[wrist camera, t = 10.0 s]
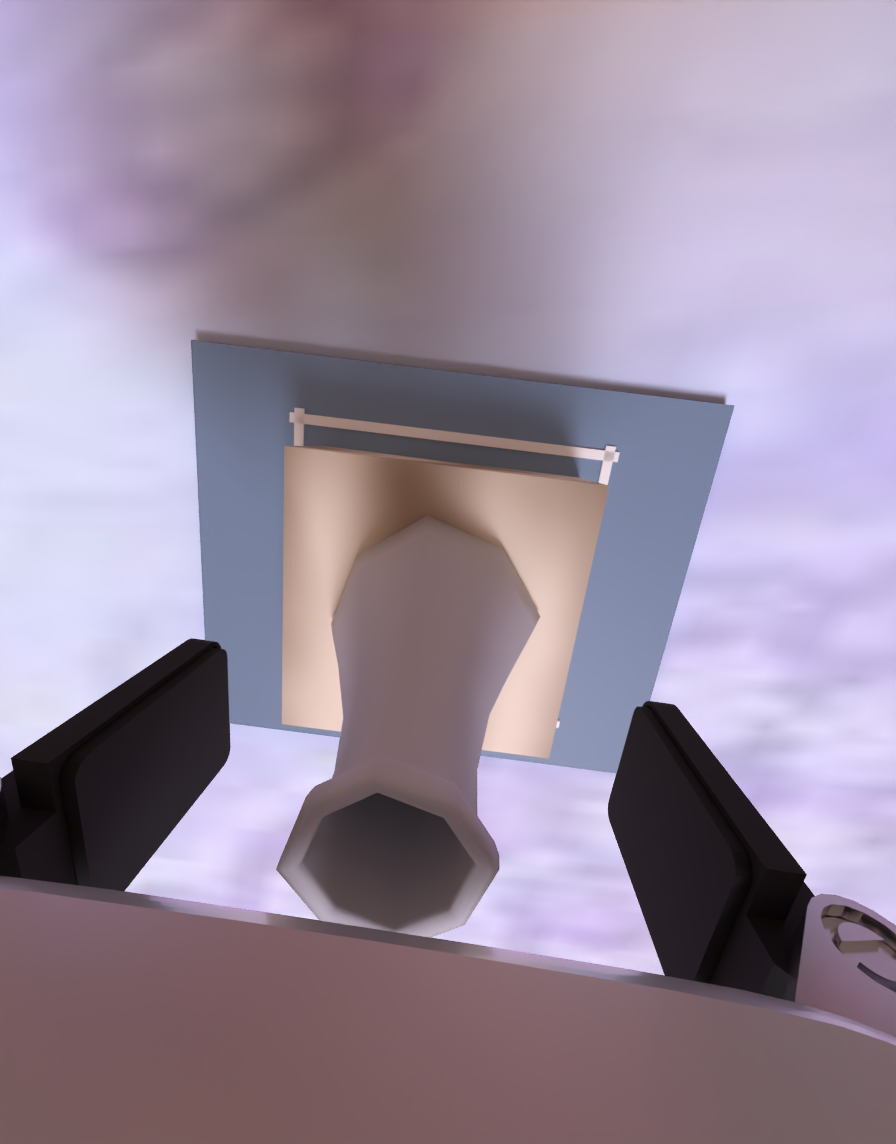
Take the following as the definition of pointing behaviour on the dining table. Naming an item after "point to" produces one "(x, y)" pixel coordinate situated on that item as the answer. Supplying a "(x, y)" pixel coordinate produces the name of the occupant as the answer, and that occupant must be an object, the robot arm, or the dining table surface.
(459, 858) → the flask
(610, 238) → the dining table surface
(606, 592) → the board
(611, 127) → the dining table surface
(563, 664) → the birch plinth
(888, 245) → the dining table surface
